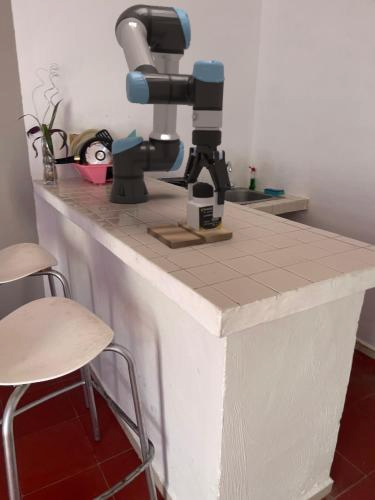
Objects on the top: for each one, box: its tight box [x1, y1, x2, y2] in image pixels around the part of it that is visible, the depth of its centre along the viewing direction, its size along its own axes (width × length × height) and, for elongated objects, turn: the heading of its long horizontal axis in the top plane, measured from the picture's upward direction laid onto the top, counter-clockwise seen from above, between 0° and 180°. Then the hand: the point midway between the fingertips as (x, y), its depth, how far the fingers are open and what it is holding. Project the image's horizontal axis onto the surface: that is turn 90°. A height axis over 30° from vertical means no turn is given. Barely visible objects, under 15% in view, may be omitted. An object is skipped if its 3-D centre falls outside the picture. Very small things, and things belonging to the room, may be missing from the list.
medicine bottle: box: [186, 182, 223, 232], centre depth 100 cm, size 7×7×12 cm
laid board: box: [146, 223, 206, 250], centre depth 99 cm, size 16×9×2 cm, turn 28°
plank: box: [177, 220, 233, 244], centre depth 103 cm, size 16×8×2 cm, turn 28°
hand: (204, 211), depth 101 cm, fingers open, 13 cm apart
